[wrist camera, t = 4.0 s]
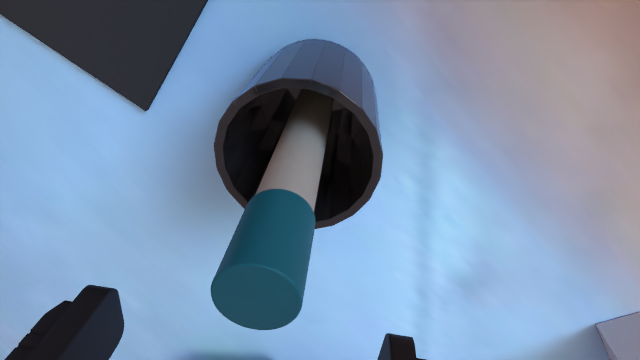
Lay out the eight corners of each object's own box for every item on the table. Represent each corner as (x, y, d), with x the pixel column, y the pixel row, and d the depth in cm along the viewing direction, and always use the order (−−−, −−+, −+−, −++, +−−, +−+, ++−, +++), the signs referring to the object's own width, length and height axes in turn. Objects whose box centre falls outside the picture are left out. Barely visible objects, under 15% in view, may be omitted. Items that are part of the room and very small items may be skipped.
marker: (286, 106, 29) (193, 301, 13) (310, 75, 28) (240, 248, 12) (318, 130, 30) (268, 343, 14) (343, 100, 29) (320, 297, 12)
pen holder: (235, 109, 30) (185, 171, 22) (302, 10, 26) (274, 38, 18) (326, 174, 33) (313, 253, 24) (401, 92, 29) (418, 152, 20)
